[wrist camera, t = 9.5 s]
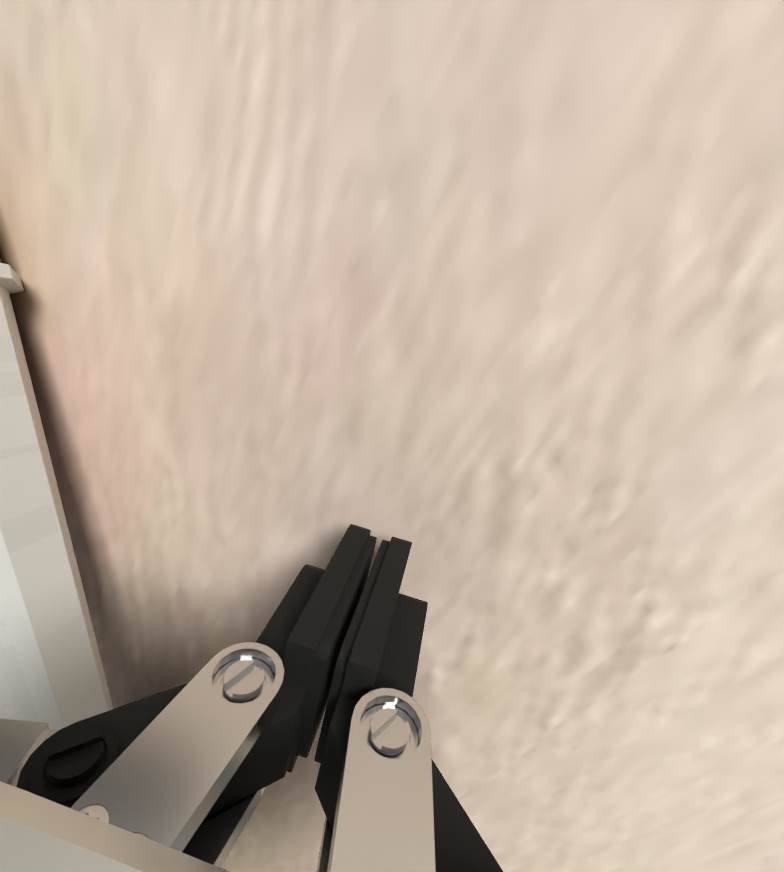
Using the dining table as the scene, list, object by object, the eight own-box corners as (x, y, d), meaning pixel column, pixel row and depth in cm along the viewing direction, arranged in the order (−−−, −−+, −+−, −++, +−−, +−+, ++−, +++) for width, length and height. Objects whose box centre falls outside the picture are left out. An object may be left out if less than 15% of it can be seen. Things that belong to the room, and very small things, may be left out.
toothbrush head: (-231, 5, 7) (119, 1098, 11) (114, 170, 13) (251, 828, 18) (-413, 87, 8) (-29, 1048, 13) (-16, 201, 14) (143, 812, 19)
